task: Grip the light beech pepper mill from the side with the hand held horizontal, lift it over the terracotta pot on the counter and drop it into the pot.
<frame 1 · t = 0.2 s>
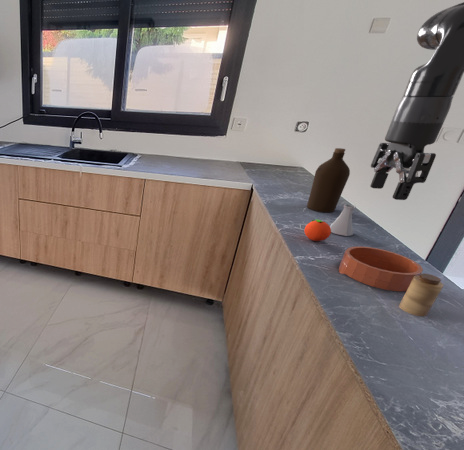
hand: (386, 193, 71), 25 cm above the worktop, tool pointing down, fingers open, 8 cm apart
pepper mill: (410, 314, 71), on the worktop
olive oil: (320, 209, 131), on the worktop
clementine: (313, 239, 105), on the worktop
flask: (339, 232, 110), on the worktop
pot: (373, 278, 84), on the worktop
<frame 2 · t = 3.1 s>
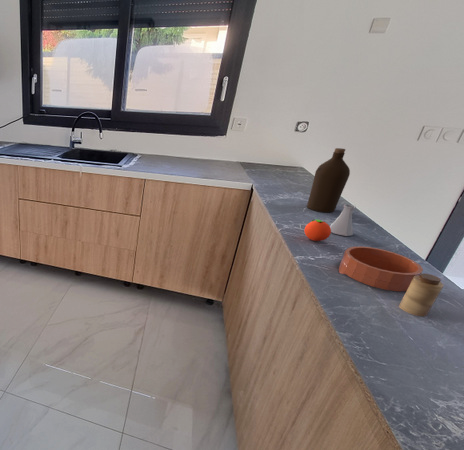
nothing on the worktop moved.
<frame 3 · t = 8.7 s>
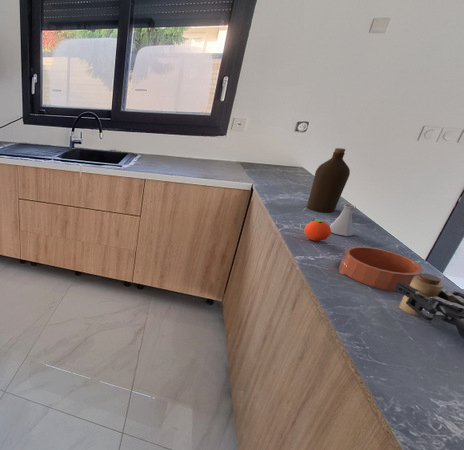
hand: (409, 285, 71), 6 cm above the worktop, tool horizontal, fingers closed on pepper mill, 4 cm apart
pepper mill: (410, 314, 71), on the worktop, touching gripper
everything else where it was.
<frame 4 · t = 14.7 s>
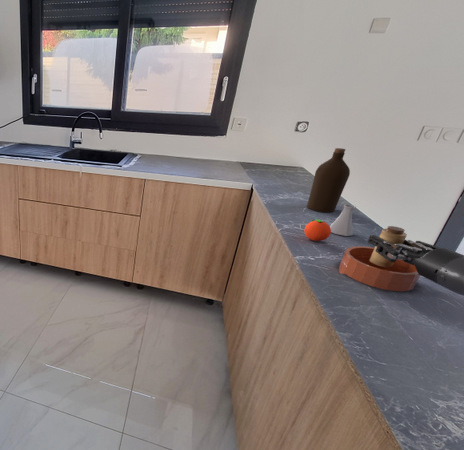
hand: (379, 238, 82), 11 cm above the worktop, tool horizontal, fingers closed on pepper mill, 4 cm apart
pepper mill: (380, 262, 82), point 5 cm above the worktop, touching gripper
everything else where it was.
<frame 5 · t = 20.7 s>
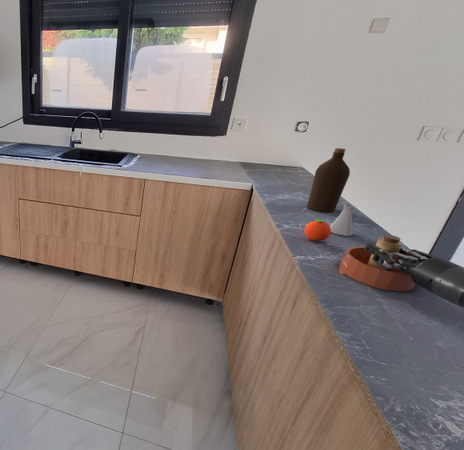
hand: (375, 246, 83), 8 cm above the worktop, tool horizontal, fingers closed on pepper mill, 4 cm apart
pepper mill: (377, 270, 83), point 3 cm above the worktop, touching gripper
everything else where it was.
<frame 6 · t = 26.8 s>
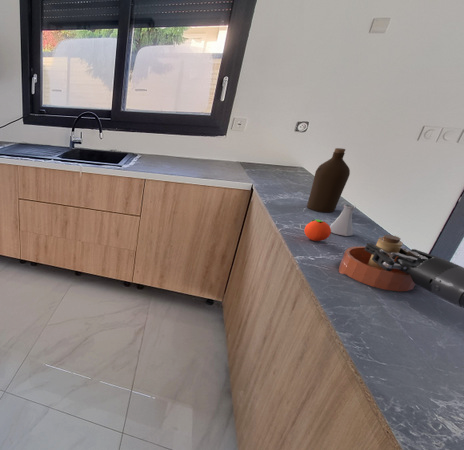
hand: (376, 246, 83), 8 cm above the worktop, tool horizontal, fingers closed on pepper mill, 4 cm apart
pepper mill: (377, 270, 83), point 2 cm above the worktop, touching gripper
everything else where it was.
when the fingers open (11 cm above the worktop, at t = 32.7 s): pepper mill drops 4 cm, resting on pot.
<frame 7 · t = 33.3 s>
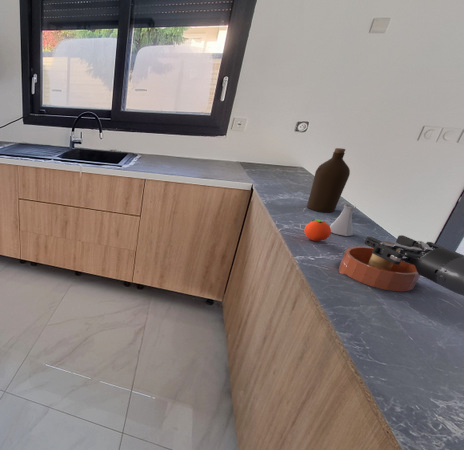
hand: (382, 239, 81), 11 cm above the worktop, tool horizontal, fingers open, 8 cm apart
pepper mill: (374, 276, 83), point 1 cm above the worktop, touching pot
everything else where it was.
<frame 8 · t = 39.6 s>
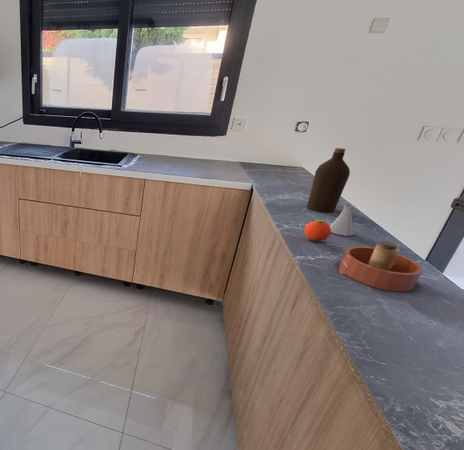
nothing on the worktop moved.
at the end: pepper mill inside the target area in the pot (0.1 cm from its centre), point 0.6 cm above the pot's base; the gripper is holding nothing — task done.
